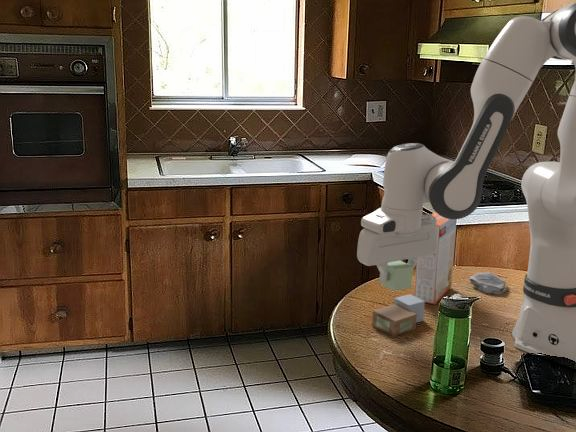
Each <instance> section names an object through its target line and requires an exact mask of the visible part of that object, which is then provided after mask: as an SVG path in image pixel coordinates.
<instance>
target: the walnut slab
mask: <svg viewBox="0 0 576 432" xmlns="http://www.w3.org/2000/svg"><path fill="white" fill-rule="evenodd" d="M416 318H417V314H416V313H414V312H411V311H409V310H407V309H405V308H403V307H400V306H398V305H396V304H394V303H393V304H390V305H386V306H383V307H379V308H377V309H373V310H372V322H371V326H372V327H373V328H376V329H378V330H380V331H382V332H384V333H386V334H387V335H389V336H392V337H398V336H400V335H402V334H406V333H408V332H412V331H414V330H416V327H417V322H416Z"/></svg>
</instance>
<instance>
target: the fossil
mask: <svg viewBox="0 0 576 432" xmlns="http://www.w3.org/2000/svg"><path fill="white" fill-rule="evenodd" d="M468 279H469V282H470V284H471V285H472V286H473V287H475V289H477V290H478V291H479V292H483V293H484V294H493V295H501V294H503V293H505V292H506V291H507V289H508V287H507V285H506V284H507V283H506V280H504V279H502V278H501V277H499V276H498V275H496V274H494V273H492V272H489V271H485V272H484V271H483V272H477V273H475V274H473V275H471V276H470V277H469V278H468Z"/></svg>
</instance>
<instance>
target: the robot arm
mask: <svg viewBox="0 0 576 432" xmlns="http://www.w3.org/2000/svg"><path fill="white" fill-rule="evenodd" d="M550 59H555V60H564V61H566V60H569V61H571V60H572V62H573V65H574V70H575V71H576V1H574V2H571V3H567V4H566V5H564V6H562V7H561V8H559V9H557V10H555V11H552V12H551V13H550V14H548V15H547V16H545V17H544V18H542V19H541V20H540V19H538V18H535V17H534V16H533V17H532V16H527V15H524V16H523V15H522V16H521V15H520V16H516V17H513V18H512V19H510V20H509V21H508V22H507V23H506V24H505V25H504V27H503V28H502V29H501V31H500V32H499V33H498V35H497V36H496V37H495V39H494V40H493V42H492V44H491V45H490V47H489V48H488V49H487V52H486V53H485V55H484V57H483V58H482V60H481V61H480V64H479V65H478V67H477V70H476V72H475V75H474V76H473V80H472V83H471V86H470V96H471V100H472V104H473V111H474V113H473V114H474V115H473V122H472V125H471V128H470V129H469V132H468V134H467V136H466V138H465V140H464V142H463V144H462V146H461V148H460V151H459V152H458V153H457V157H456V158H455V160H451V159H448V158H444V157H442V156H440V155H438V154H436V153H435V152H433V151H431V150H430V149H428V148H427V147H426V146H425V145H424V144H422V143H419V142H414V143H413V142H409V143H408V142H407V143H402V144H399V145H396V146H393V147H392V148H391V149H390V150H389V151H388V153H387V154H386V159H385V165H384V172H383V180H382V186H383V190H384V191H383V192H384V193H383V197H382V200H381V207H379V208H377V209H376V210H374V211H373V212H371V213H368V214H366V215H365V216H363V217H362V218H361V220H360V225H361V227H363V229H361V231H360V232H359V236H358V241H357V248H356V249H357V251H356V258H357V260H358V261H359V262H360V264H363V265H364V266H368V267H371V266H376V268H377V269H378V272H379V280H382V281H388V280H390V273H389V272H387V271H386V268H385V267H387V264H388V263H389V262H394V261H399V260H400V261H404V260H408V261H407V264H409V265H411V266H413V267H414V268H413V270H414V269H415V267H416V264H417V262H418V257H421V256H427V255H432V254H434V253H435V251H436V250H437V229H436V223H437V220H436V218H435V217H434V216H432V214H433V213H427V214H423V209H424V204H425V203H430V204H431V207H432V209H433V210H434V212H436V213H438V214H439V215H440V216H442V217H444V218H447V219H457V220H460V219H464V218H467V217H468V216H470V215H471V214H472V213H474V212H475V211H476V210H477V208H478V207H479V205H480V203H481V201H482V198H483V197H482V196H483V190H484V189H483V186H484V181H485V177H486V174H487V171H488V170H489V167H490V165H491V164H492V161H493V160H494V158H495V155H496V154H497V151H498V149H499V147H500V145H501V143H502V141H503V139H504V136H506V133H507V131H508V128H509V126H510V124H511V121H512V120H513V119H514V116H515V114H516V112H517V111H518V109H519V107H520V105H521V103H522V102H523V101H524V98H525V97H526V95H527V94H528V91H529V90H530V88H531V87H532V84H533V83H534V81H535V79H536V78H537V75H538V74H539V72H540V69H542V68H543V66H544V65H545V63H546V62H547V61H549V60H550ZM574 75H575V76H574V82H573V84H572V86H571V90H570V92H569V95H568V98H567V101H566V104H565V106H564V107H565V108H564V110H563V114H562V116H561V119H560V121H559V126H558V128H557V139H558V141H559V145H560V155H559V161H550V160H549V161H539V162H535V163H533V164H532V165H531V166H529V167H528V168H527V169H526V170H525V172H524V174H523V176H522V178H521V185H520V186H521V187H520V188H521V191H522V193H523V196H524V197H525V201H526V205H527V215H528V221H529V222H528V224H529V232H530V248H529V258H528V264H527V266H528V267H527V273H526V274H525V275H524V280H523V288H522V291H523V298H522V303H521V306H520V310H519V314H518V317H517V320H516V323H515V325H514V327H513V329H512V332H511V334H512V335H511V336H512V338H513V339H514V344H513V345H514V347H515V348H517V349H519V350H521V351H524V352H526V353H528V354H531V353H542V354H546V355H550V356H557V357H565V358H568V359H571V360H573V361H575V362H576V73H575V74H574ZM432 217H433V218H432Z"/></svg>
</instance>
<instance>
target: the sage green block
mask: <svg viewBox="0 0 576 432" xmlns="http://www.w3.org/2000/svg"><path fill="white" fill-rule="evenodd" d="M385 268H386V271H387V272H389V273H390V280H388V281H382V280H380V279H379V281H378V282H379V284H380V285H382V286H383V287H386V288H387V289H389V290H391V291H393V292H394V291H401V290H406V289H411V288H412V284H413V283H412V282H413V277H414V276H413V274H414V269H415V267H413V266H411V265H409V264H407V263H406V262H404V261H403V260H399V261H394V262H389V263H388V264H387V267H385ZM413 268H414V269H413Z"/></svg>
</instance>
